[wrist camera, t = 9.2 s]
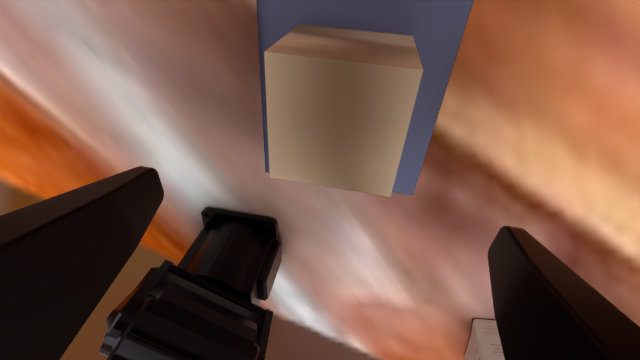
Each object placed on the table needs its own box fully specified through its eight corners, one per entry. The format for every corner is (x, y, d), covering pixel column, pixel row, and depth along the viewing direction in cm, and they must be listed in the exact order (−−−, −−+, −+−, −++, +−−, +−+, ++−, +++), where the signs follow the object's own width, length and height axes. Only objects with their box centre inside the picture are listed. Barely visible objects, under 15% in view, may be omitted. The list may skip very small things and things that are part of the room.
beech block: (297, 125, 17) (269, 177, 13) (299, 24, 14) (264, 51, 10) (390, 137, 16) (390, 197, 12) (412, 35, 13) (423, 69, 9)
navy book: (279, 148, 22) (265, 172, 19) (275, -74, 14) (252, -80, 12) (410, 167, 21) (412, 195, 18) (475, -60, 13) (494, -64, 11)
